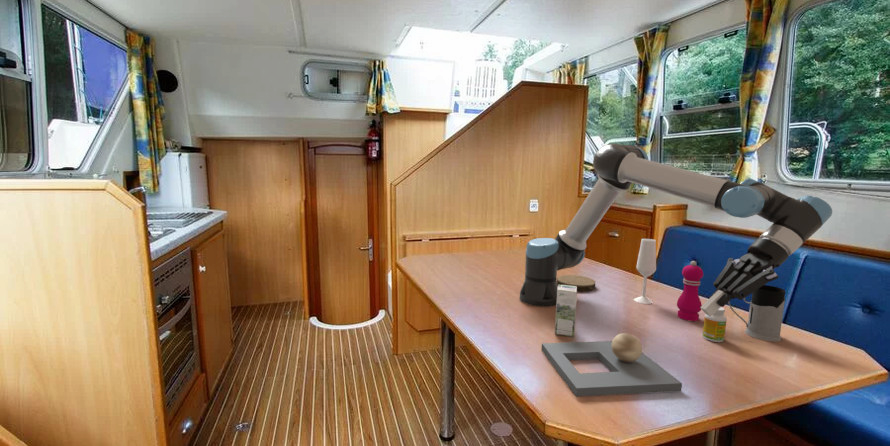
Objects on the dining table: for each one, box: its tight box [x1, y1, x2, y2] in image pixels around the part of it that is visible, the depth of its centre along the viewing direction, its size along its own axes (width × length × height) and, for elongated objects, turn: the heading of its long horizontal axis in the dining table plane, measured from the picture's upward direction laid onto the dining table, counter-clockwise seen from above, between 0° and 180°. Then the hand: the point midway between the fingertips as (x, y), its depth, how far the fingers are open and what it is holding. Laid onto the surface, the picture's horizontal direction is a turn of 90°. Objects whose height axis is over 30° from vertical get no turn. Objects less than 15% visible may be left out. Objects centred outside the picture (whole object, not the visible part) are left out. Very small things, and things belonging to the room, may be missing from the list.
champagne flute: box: [633, 238, 657, 305], centre depth 147 cm, size 7×7×24 cm
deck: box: [541, 340, 683, 397], centre depth 97 cm, size 25×22×2 cm
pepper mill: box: [676, 260, 704, 322], centre depth 130 cm, size 7×7×20 cm
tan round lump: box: [611, 332, 643, 362], centre depth 97 cm, size 7×7×7 cm
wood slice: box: [556, 274, 596, 293], centre depth 166 cm, size 16×16×3 cm
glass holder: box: [727, 284, 786, 343], centre depth 119 cm, size 9×14×15 cm, turn 58°
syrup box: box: [554, 285, 578, 338], centre depth 118 cm, size 6×6×14 cm
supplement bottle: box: [702, 307, 727, 343], centre depth 115 cm, size 5×5×10 cm
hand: (705, 311), depth 98 cm, fingers closed
